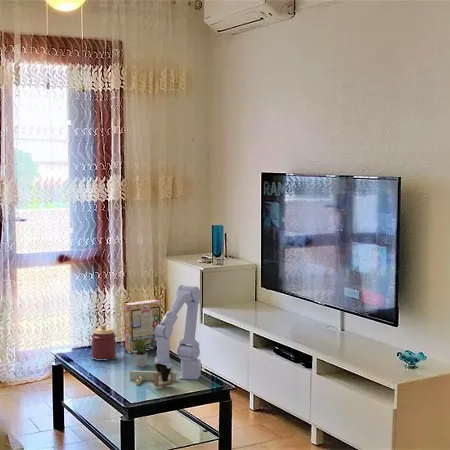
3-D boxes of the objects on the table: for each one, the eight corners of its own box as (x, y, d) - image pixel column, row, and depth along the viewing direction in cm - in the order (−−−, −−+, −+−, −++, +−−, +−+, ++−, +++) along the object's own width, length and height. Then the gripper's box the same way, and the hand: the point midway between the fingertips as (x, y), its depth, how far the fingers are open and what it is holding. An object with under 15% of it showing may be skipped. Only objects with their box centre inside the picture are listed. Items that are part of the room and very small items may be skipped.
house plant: (133, 371, 356) (133, 338, 355) (120, 365, 368) (119, 333, 367) (158, 366, 365) (158, 334, 364) (144, 360, 376) (144, 330, 375)
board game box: (156, 346, 408) (156, 299, 406) (162, 348, 403) (162, 300, 401) (124, 351, 396) (123, 302, 394) (129, 354, 391) (129, 304, 389)
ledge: (176, 380, 341) (176, 371, 340) (172, 385, 331) (172, 377, 331) (130, 378, 343) (130, 370, 343) (125, 384, 333) (125, 376, 333)
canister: (86, 357, 383) (86, 324, 382) (107, 353, 391) (107, 321, 390) (100, 362, 373) (99, 328, 372) (121, 358, 382) (120, 325, 381)
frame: (169, 383, 332) (169, 370, 332) (172, 384, 329) (172, 371, 329) (153, 385, 328) (153, 372, 328) (156, 387, 325) (156, 374, 325)
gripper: (148, 348, 332) (148, 377, 333) (161, 355, 319) (161, 385, 320) (162, 346, 335) (162, 375, 336) (176, 353, 323) (176, 383, 324)
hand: (163, 380), depth 329 cm, fingers closed on frame, 3 cm apart
